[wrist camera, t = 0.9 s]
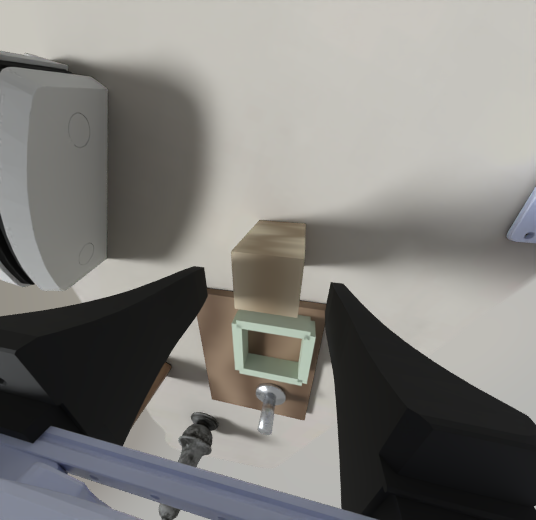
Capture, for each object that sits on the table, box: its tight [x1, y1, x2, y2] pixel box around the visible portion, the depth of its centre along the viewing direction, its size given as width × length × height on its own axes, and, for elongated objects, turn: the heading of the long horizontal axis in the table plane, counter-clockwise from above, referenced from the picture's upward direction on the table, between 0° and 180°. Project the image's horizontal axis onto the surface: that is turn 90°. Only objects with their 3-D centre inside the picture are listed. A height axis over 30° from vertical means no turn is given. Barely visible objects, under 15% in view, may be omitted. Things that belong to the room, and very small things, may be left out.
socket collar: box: [232, 310, 316, 386], centre depth 20 cm, size 8×8×2 cm
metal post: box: [256, 383, 286, 435], centre depth 24 cm, size 4×4×4 cm
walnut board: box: [197, 288, 326, 420], centre depth 24 cm, size 14×20×1 cm
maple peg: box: [231, 220, 306, 318], centre depth 14 cm, size 4×4×7 cm
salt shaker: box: [159, 412, 218, 520], centre depth 30 cm, size 6×6×12 cm
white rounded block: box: [0, 51, 108, 290], centre depth 15 cm, size 17×5×10 cm, turn 156°
